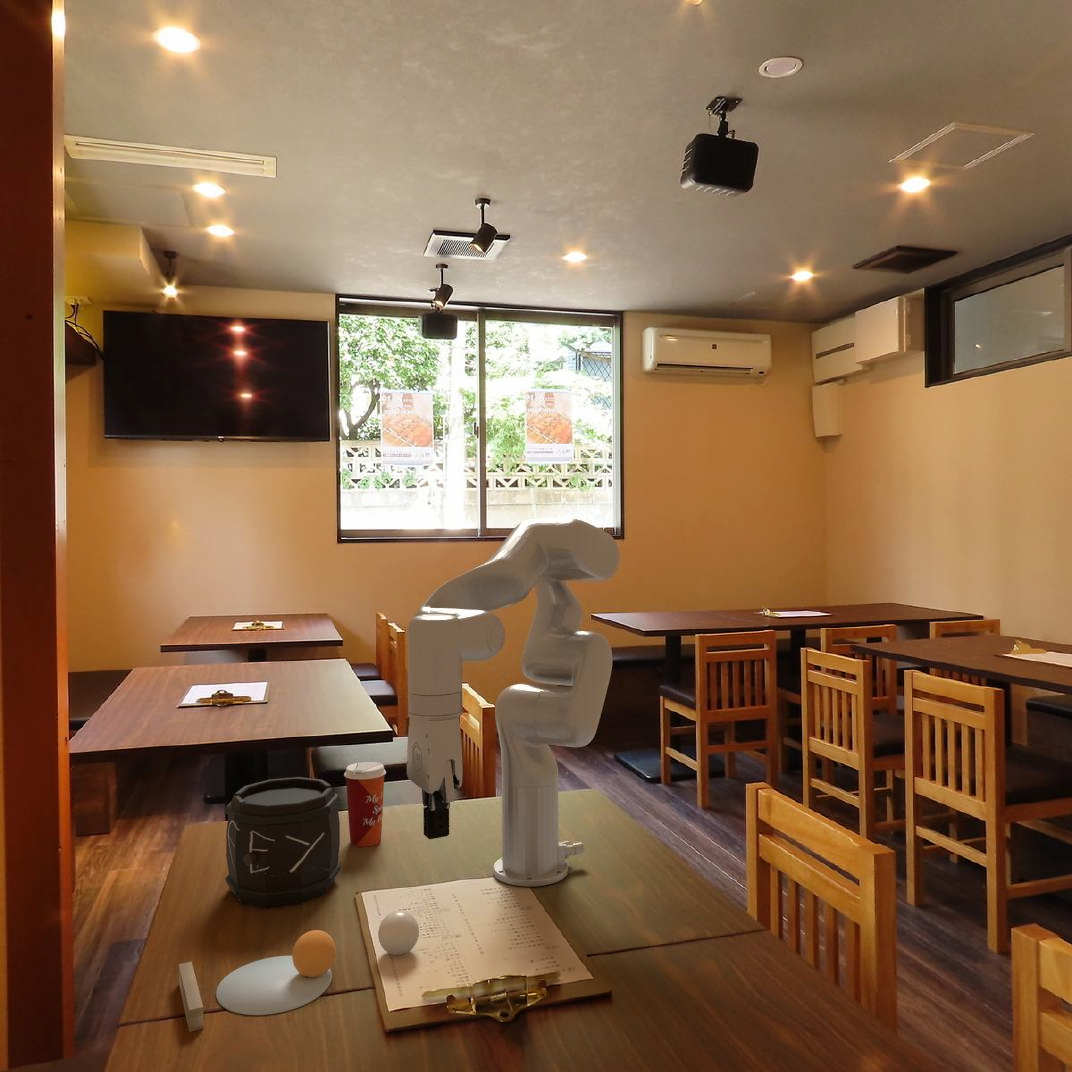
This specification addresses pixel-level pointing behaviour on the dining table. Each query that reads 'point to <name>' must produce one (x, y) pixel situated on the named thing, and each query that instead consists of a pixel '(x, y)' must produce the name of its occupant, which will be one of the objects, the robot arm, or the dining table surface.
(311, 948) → the object ball
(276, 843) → the dark grey barrel
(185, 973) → the rail
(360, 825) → the paper cup
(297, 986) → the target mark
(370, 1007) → the dining table surface
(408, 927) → the cue ball
